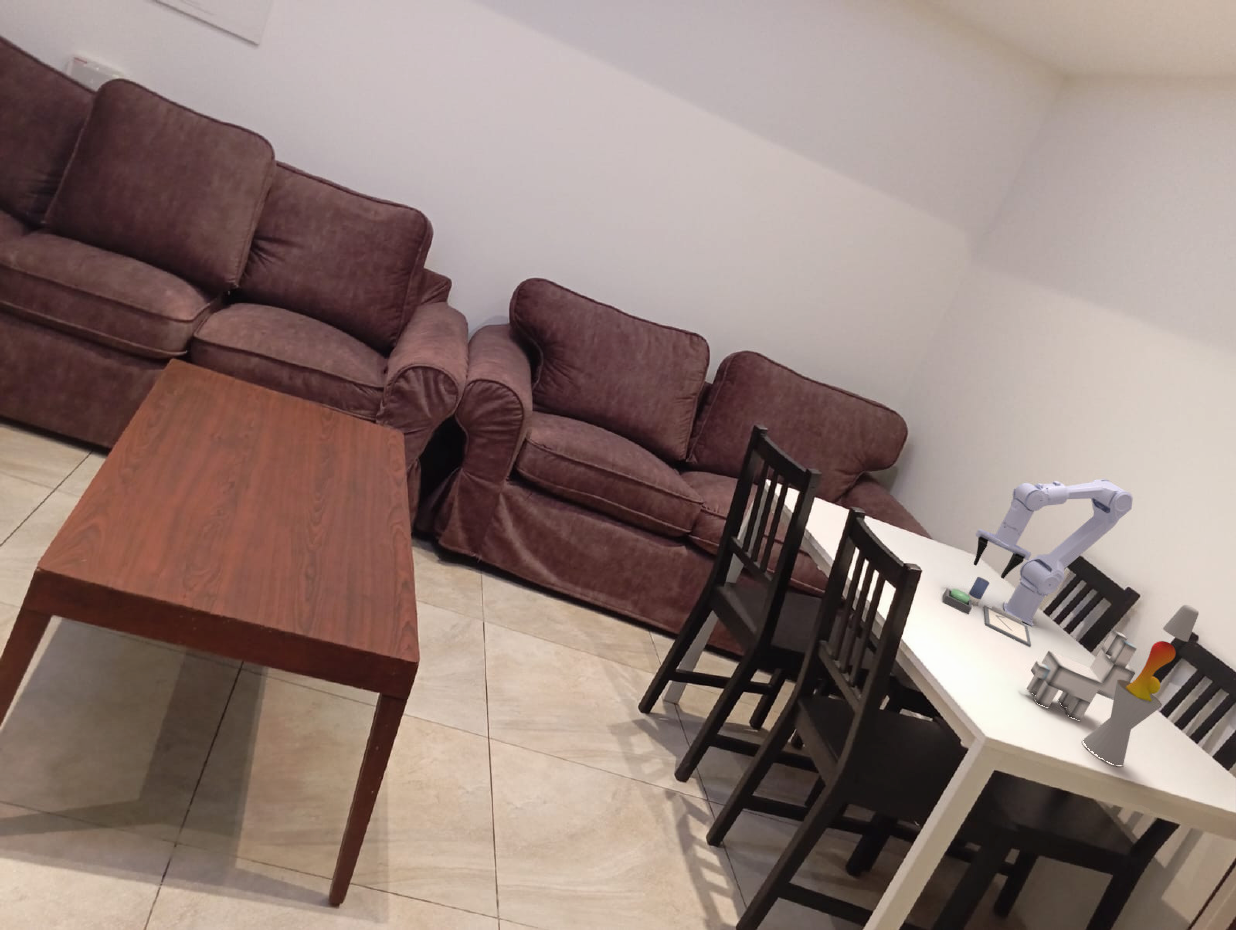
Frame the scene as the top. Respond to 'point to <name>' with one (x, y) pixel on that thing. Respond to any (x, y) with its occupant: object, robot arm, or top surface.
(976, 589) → the marker
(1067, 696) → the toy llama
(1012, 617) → the clipboard
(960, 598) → the button
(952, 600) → the button housing
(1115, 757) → the lava lamp
